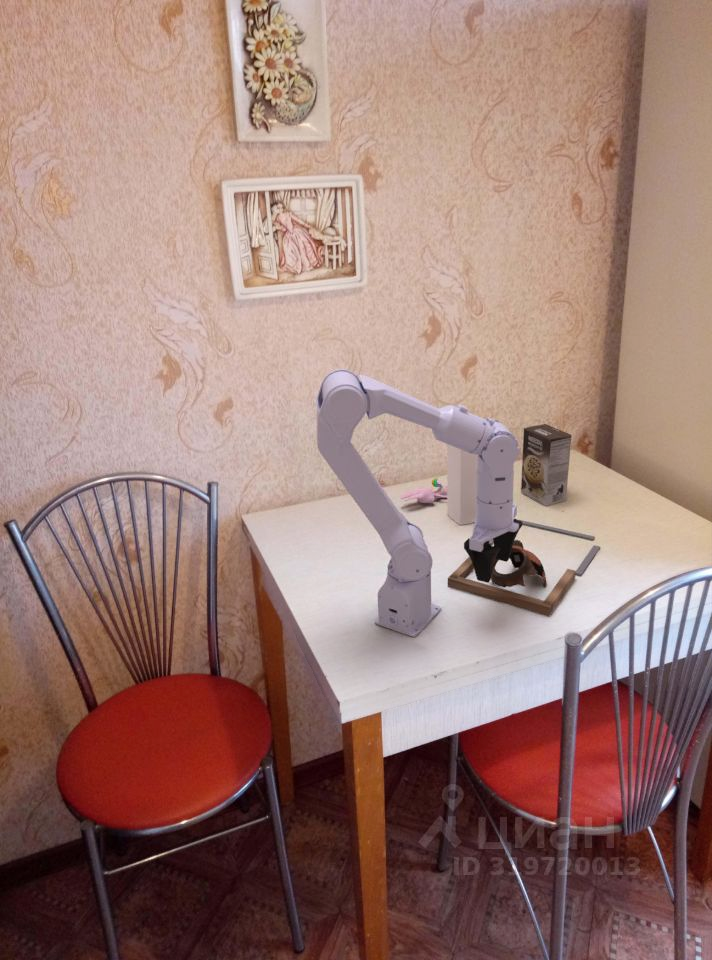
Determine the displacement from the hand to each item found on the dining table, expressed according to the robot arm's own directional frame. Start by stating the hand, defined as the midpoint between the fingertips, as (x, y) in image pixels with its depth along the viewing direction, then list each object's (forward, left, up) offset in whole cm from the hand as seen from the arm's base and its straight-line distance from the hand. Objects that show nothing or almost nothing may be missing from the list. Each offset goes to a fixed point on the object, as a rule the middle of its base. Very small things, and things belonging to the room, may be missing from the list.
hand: (493, 569), depth 115 cm
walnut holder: (+8, 0, -7) cm, 11 cm away
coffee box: (+47, +8, -8) cm, 48 cm away
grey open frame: (+25, 0, -7) cm, 26 cm away
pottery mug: (+10, -1, -8) cm, 13 cm away
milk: (+29, +19, -8) cm, 35 cm away
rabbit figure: (+32, +30, -8) cm, 45 cm away
